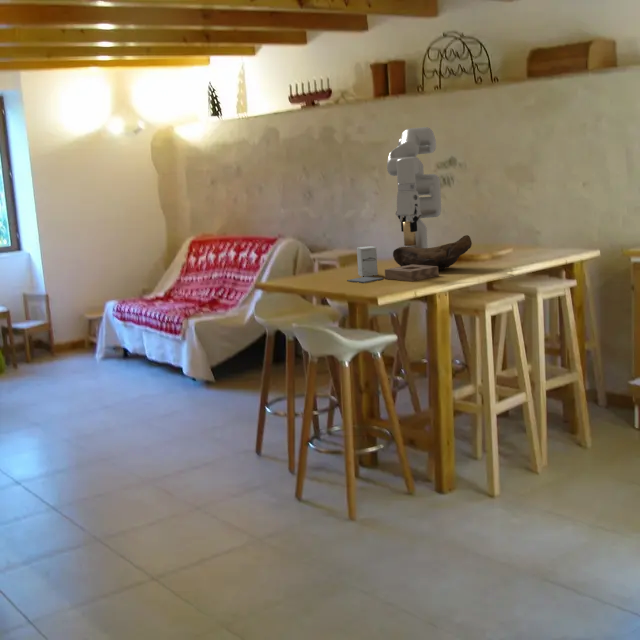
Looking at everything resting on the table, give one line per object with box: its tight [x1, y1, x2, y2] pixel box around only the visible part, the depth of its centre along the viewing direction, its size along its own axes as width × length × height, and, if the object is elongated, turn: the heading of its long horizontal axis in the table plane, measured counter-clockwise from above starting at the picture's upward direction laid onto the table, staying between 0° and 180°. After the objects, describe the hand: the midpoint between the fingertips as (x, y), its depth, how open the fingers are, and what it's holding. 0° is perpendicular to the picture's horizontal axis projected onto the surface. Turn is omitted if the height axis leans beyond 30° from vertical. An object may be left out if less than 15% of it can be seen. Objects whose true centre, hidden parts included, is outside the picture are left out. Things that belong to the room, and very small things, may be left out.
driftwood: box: [392, 234, 473, 271], centre depth 367 cm, size 37×18×15 cm, turn 45°
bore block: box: [384, 265, 439, 282], centre depth 350 cm, size 16×16×4 cm
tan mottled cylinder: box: [402, 221, 416, 247], centre depth 347 cm, size 5×5×10 cm
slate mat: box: [346, 276, 384, 284], centre depth 352 cm, size 11×11×1 cm
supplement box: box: [356, 245, 379, 277], centre depth 366 cm, size 7×7×13 cm
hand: (409, 231), depth 347 cm, fingers closed on tan mottled cylinder, 5 cm apart
